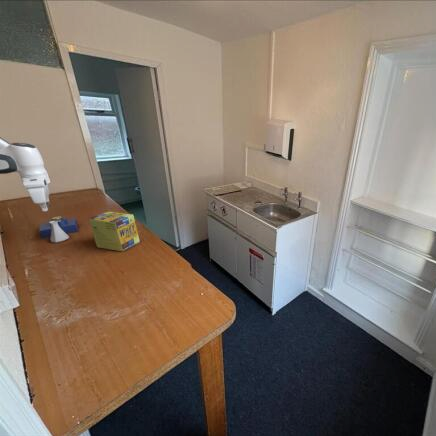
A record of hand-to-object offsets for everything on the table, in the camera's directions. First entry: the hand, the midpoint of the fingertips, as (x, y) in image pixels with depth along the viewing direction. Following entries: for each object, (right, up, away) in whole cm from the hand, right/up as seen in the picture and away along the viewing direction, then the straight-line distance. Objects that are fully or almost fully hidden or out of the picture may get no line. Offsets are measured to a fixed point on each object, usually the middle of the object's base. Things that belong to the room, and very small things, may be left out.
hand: (46, 207), depth 112 cm
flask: (-1, -16, +7) cm, 18 cm away
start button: (-9, -6, +15) cm, 19 cm away
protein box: (+32, -19, +5) cm, 37 cm away
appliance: (-8, -12, +15) cm, 21 cm away
